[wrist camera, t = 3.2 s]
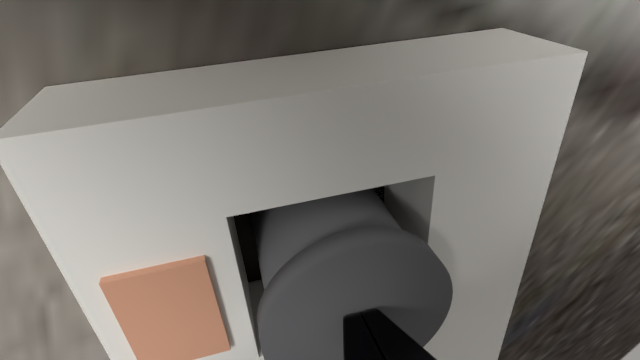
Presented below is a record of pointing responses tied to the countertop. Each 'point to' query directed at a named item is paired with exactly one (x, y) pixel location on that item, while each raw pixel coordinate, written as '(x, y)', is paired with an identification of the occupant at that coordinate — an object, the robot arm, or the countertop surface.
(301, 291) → the button
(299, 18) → the countertop surface
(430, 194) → the panel
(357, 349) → the robot arm
